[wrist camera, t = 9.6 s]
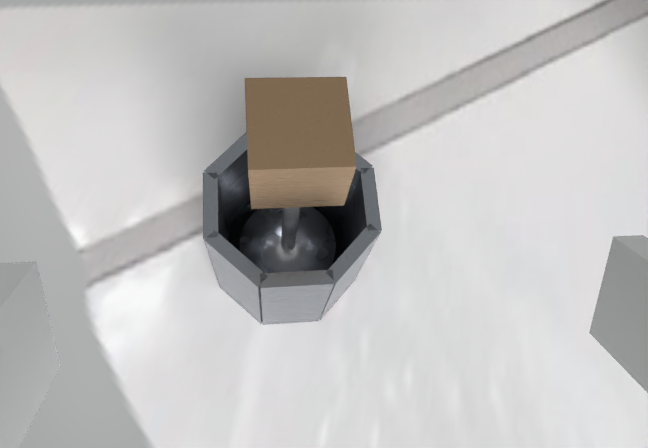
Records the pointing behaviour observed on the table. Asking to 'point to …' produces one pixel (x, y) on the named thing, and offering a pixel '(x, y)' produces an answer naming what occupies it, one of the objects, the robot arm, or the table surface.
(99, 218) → the table surface
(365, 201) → the octagonal metal cup
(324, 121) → the plunger
